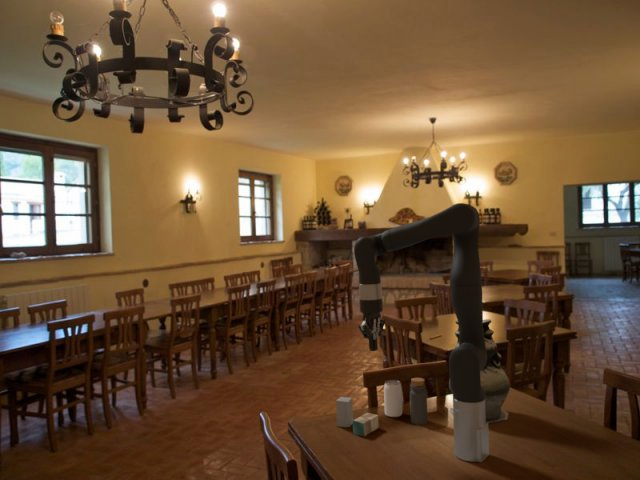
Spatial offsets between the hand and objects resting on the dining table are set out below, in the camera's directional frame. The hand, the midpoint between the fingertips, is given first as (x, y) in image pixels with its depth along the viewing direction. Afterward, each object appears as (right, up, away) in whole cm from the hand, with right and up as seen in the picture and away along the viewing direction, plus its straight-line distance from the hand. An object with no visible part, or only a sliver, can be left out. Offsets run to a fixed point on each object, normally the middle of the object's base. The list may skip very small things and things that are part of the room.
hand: (373, 350), depth 162 cm
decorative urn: (+41, -28, +18) cm, 52 cm away
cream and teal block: (-5, -27, +4) cm, 28 cm away
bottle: (+18, -29, +14) cm, 36 cm away
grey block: (-9, -29, +13) cm, 33 cm away
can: (+10, -29, +22) cm, 37 cm away
